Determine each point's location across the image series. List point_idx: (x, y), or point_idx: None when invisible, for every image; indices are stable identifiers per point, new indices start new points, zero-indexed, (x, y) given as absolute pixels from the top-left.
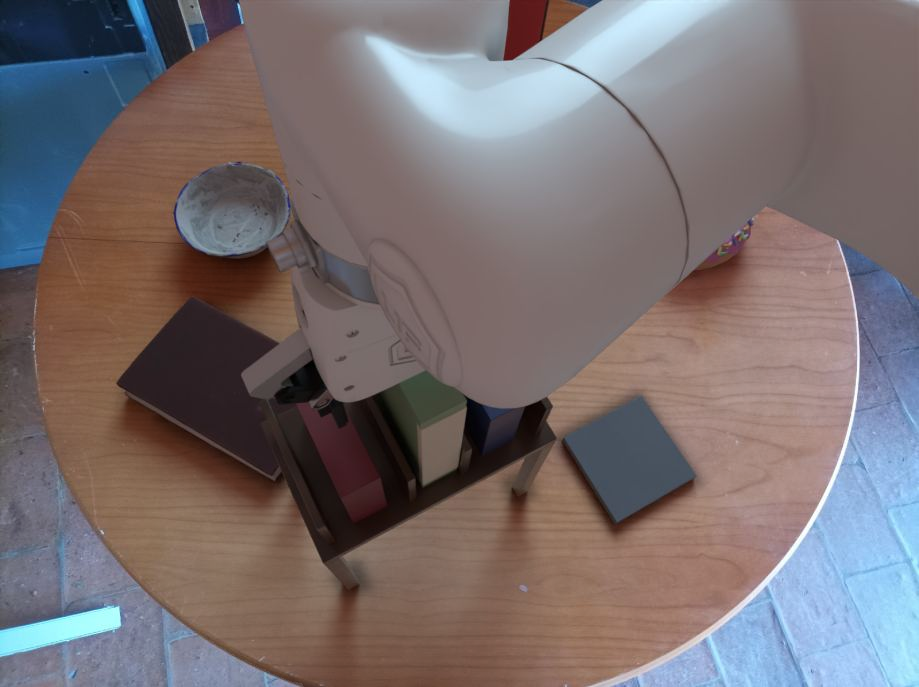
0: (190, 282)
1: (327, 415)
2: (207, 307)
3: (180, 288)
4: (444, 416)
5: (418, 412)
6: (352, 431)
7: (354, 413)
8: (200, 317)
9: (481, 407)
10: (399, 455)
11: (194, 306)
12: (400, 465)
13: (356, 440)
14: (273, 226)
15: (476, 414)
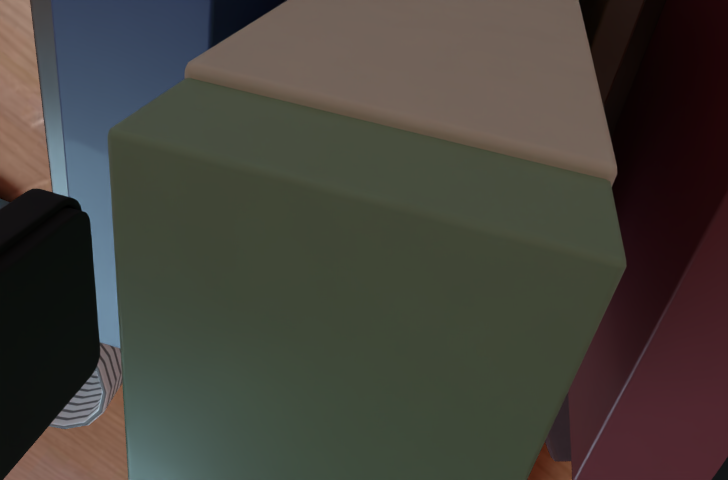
0: (535, 461)
1: (714, 375)
2: (549, 437)
3: (552, 464)
4: (376, 137)
5: (551, 349)
6: (701, 279)
7: None
8: (569, 434)
9: (224, 7)
10: (599, 69)
11: (563, 449)
12: (627, 35)
13: (721, 244)
14: None
15: (273, 1)
